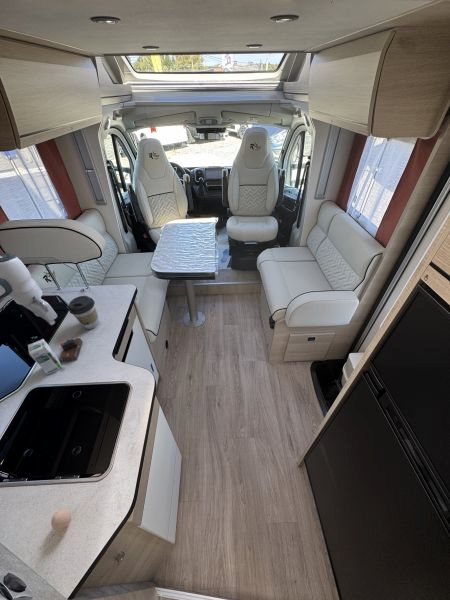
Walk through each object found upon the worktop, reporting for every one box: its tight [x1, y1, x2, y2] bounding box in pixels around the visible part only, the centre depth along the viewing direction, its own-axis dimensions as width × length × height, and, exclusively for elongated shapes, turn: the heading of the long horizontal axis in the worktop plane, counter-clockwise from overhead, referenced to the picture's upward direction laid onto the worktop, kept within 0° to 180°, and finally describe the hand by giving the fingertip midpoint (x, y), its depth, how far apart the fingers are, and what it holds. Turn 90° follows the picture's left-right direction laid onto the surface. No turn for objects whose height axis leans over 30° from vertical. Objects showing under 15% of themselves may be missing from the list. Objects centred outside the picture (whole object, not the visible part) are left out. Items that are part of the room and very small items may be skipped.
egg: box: [50, 508, 72, 531], centre depth 69 cm, size 4×4×6 cm
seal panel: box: [59, 337, 84, 363], centre depth 114 cm, size 10×9×3 cm
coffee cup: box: [67, 295, 100, 330], centre depth 122 cm, size 11×11×15 cm
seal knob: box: [60, 338, 77, 351], centre depth 111 cm, size 5×2×4 cm, turn 129°
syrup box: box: [27, 338, 63, 376], centre depth 104 cm, size 6×6×14 cm
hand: (45, 319), depth 103 cm, fingers open, 8 cm apart
